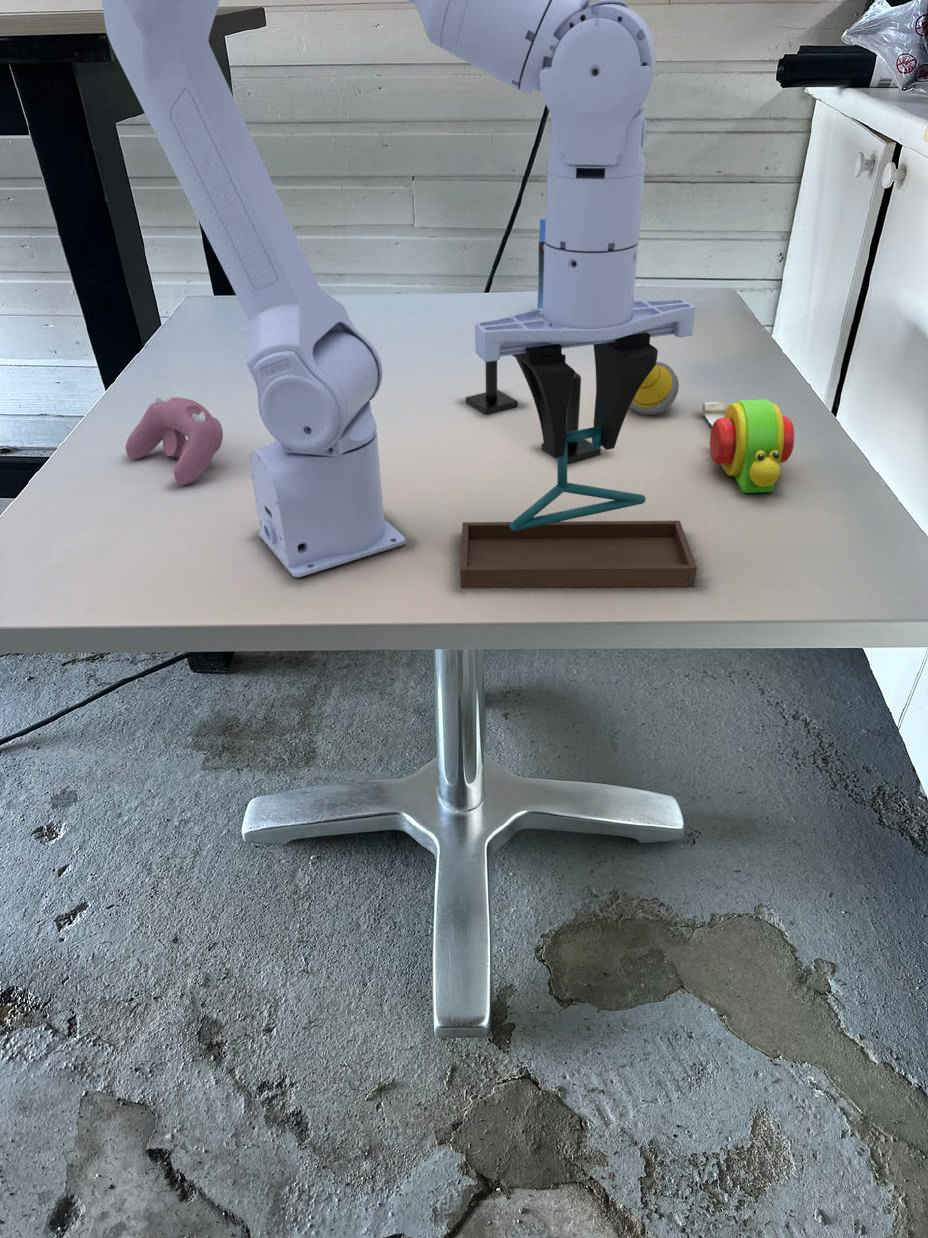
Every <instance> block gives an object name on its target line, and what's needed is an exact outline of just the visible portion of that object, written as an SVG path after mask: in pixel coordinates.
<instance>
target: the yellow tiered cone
mask: <svg viewBox="0 0 928 1238" xmlns="http://www.w3.org/2000/svg"><path fill="white" fill-rule="evenodd" d="M679 387H680V383H679V378H678V376H677V374H676V373H675V371H674V370H673V369H672V367H671V366H670V365H668V364H666V363H664V362H660V361H656V366H655V367H654V368H653V369H652V371H651V372H650V373H649V375H648V376H647V377H646V379H645V380H644V382H643V383H642V385H641V386H640V388H639V390H638V391H637V393H636V395H635V397H634V399H633V401H632V403H631V405H630V408H631V409H632V410H633V411H634V412H636V413H637V414H640V415H642V416H653V415H657V414H660V413H662V412H664V411H665V410H667V409H668V408H669V407H670V406H671V405H673V403H674V402H675V400H676V398H677V396H678V393H679Z"/></svg>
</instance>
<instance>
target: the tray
mask: <svg viewBox="0 0 928 1238" xmlns="http://www.w3.org/2000/svg"><path fill="white" fill-rule="evenodd" d="M512 522H513V521H473V522H472V521H471V522H467V521H465V522H462V524H461V525H462V527H461V542H460V543H461V545H460V546H461V547H460V564H459V567H460V568H459V577H460V581H459V582H460V589H474V588H475V589H487V588H488V589H489V588H490V589H491V588H492V589H494V588H495V589H497V588H498V589H499V588H501V589H502V588H506V589H507V588H508V589H509V588H511V589H512V588H513V589H514V588H636V587H637V588H639V587H640V588H643V587H644V588H646V587H649V588H651V587H653V588H655V587H658V588H659V587H663V588H665V587H671V588H672V587H695V584H696V582H695V581H696V577H697V572H698V571H697V570H698V568H697V564H696V562H695V559H694V556H693V554H692V550H691V548H690V545H689V542H688V540H687V539H688V538H687V537H686V533H685V531H684V528H683V526H682V523H681V520H596V521H595V520H587V521H585V520H584V521H583V520H582V521H581V520H580V521H578V520H577V521H576V520H575V521H574V520H573V521H570V520H566V521H560V522H555V523H551V524H546V525H541V526H537V527H532V528H527V529H523V530H518V531H512V530H511V529H510V524H511V523H512Z"/></svg>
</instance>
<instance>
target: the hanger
mask: <svg viewBox="0 0 928 1238" xmlns="http://www.w3.org/2000/svg"><path fill="white" fill-rule="evenodd" d="M584 439H585V440H588V439H591V443H592V447H593V448H594V449H599V448H602V446H601V445H602V429H601V428H600V427H594V426H593V427H588V428H581V429H578V430H576V431H571V432H566V446H565V452H564V456H563V457H557V458H556V461H557V462H556V464H557V465H556V468H557V469H556V470H557V471H556V473H557V475H556V479H557V482H556V485H555V486H554V487H552V488H551V489H550V490H549V491H547V492H546V493H545V494H544V495H542V497H540V498H539V499H538V500H537V501H535V502H534V503H533V504H532V505H531V506H530V507H528V508H527V509H526V510H525V511H524V512H522V513H521V514H520V515H518V517H516V518H515V519H513V521H511V522H512V523H511V524H510V529H511V530H512V531H518V530H523V529H527V528H532V527H537V526H541V525H546V524H551V523H555V522H566V521H570V520H573V519H578V518H584V517H588V516H592V515H597V514H601V513H606V512H611V511H615V510H620V509H625V508H629V507H634V506H638V505H639V506H640V505H643V504H644V503H645V502H646V499H647V498H646V496H645V495H644V494H640V493H633V492H629V491H621V490H615V489H611V488H610V489H609V488H603V487H597V486H591V485H585V484H579V483H572V482H568V464H567V443H568V442H573V441H578V440H584ZM564 493H568V494H574V495H580V496H587V497H592V498H593V497H594V498H600V499H606V500H607V501H604V502H599V503H595V504H590V505H584V506H579V507H576V508H571V509H566V510H562V511H557V512H552V513H547V514H542V515H538V514H539V513H540V512H541V511H543V510H544V509H545V508H546V507H548V506H549V505H550V504H551V503H552V502H553V501H555V500H556V499H557V498H558V497H559V496H561V495H562V494H564ZM537 515H538V516H537Z"/></svg>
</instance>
